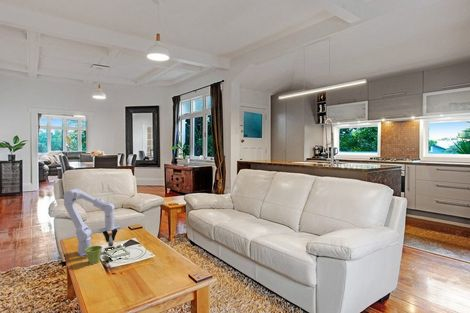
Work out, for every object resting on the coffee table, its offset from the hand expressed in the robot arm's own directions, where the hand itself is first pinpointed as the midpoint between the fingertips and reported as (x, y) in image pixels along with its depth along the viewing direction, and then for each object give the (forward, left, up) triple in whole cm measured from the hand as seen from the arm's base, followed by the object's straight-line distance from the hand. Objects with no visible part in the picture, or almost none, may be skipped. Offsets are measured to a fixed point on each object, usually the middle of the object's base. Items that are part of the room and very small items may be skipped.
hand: (110, 241), depth 191 cm
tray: (+11, +1, -7) cm, 13 cm away
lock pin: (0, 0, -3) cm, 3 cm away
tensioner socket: (0, 0, -7) cm, 7 cm away
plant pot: (+9, -13, -8) cm, 18 cm away
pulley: (0, +7, -7) cm, 10 cm away
